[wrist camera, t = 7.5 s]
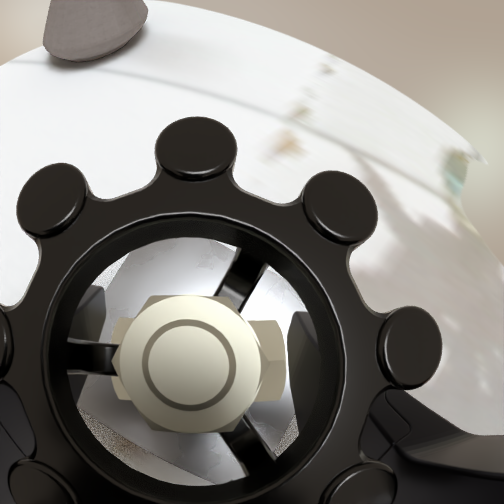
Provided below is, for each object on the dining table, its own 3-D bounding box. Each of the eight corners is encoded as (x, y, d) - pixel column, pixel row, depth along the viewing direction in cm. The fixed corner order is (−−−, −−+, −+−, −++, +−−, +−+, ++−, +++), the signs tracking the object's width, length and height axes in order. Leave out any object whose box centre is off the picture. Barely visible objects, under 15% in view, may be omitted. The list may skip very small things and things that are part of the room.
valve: (133, 293, 15) (7, 128, 4) (263, 295, 16) (398, 140, 5) (133, 423, 12) (-11, 540, 1) (268, 424, 13) (432, 536, 2)
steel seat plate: (244, 487, 14) (247, 495, 13) (61, 385, 14) (53, 387, 13) (334, 313, 18) (342, 310, 17) (161, 219, 18) (159, 210, 17)
